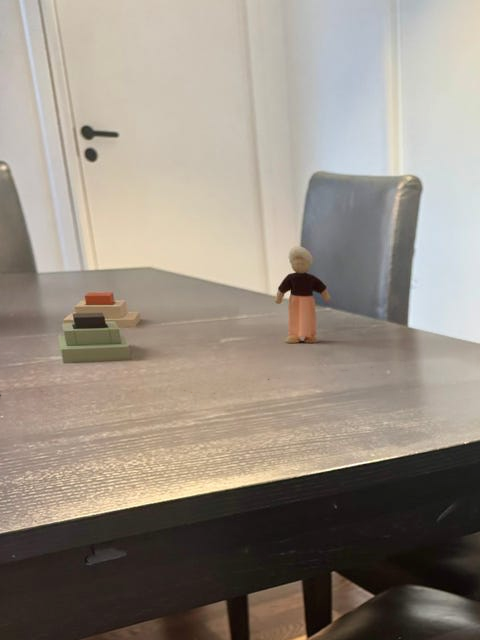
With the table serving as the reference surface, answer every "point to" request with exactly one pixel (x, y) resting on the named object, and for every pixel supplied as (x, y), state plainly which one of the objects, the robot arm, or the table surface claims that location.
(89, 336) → the green stepped pyramid
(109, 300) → the key back
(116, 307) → the beige stepped base
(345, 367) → the table surface
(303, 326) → the grandmother figurine
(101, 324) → the key front
